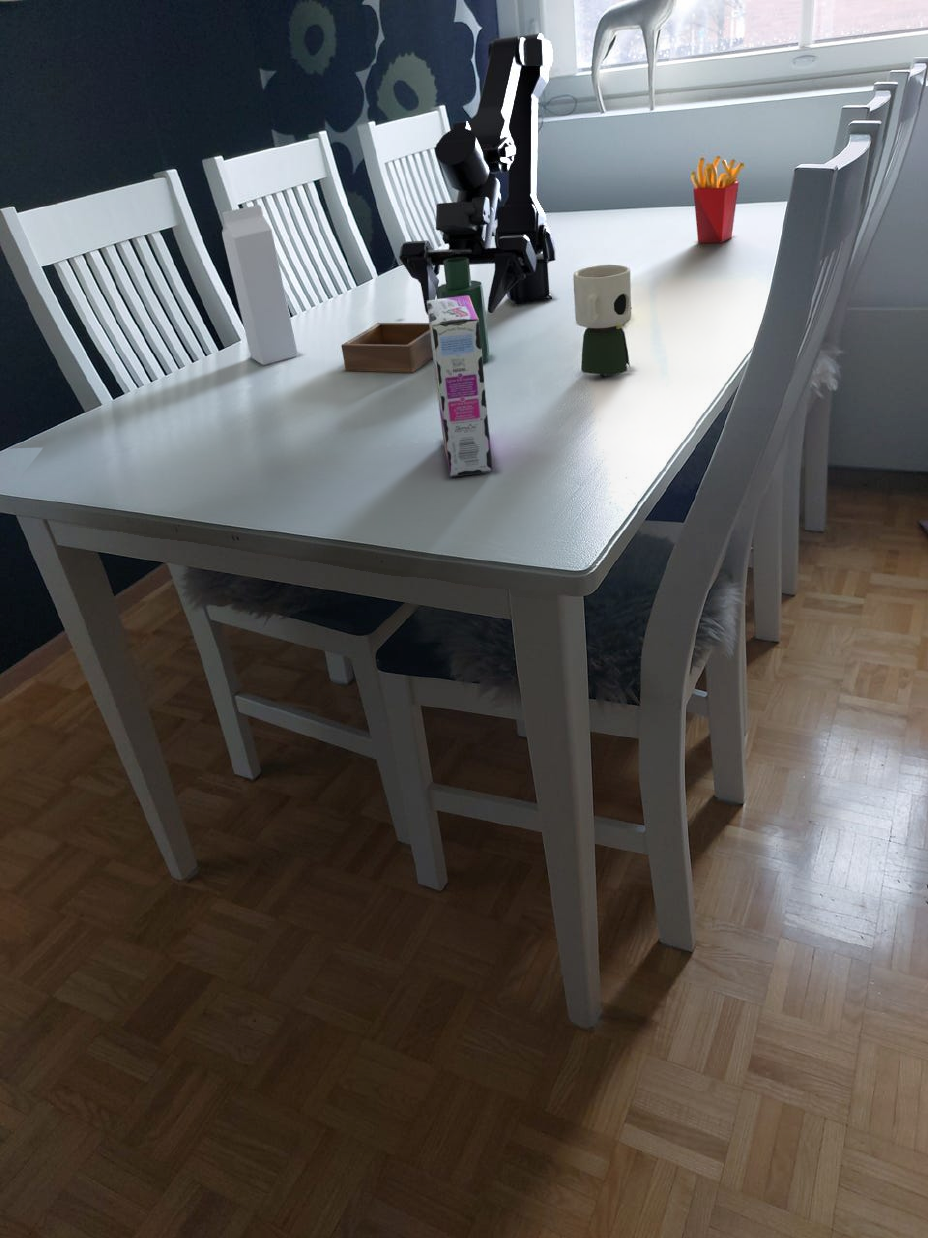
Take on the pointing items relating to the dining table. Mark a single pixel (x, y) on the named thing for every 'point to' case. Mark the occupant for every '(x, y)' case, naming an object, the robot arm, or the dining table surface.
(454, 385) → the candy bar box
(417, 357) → the crate
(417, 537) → the dining table surface
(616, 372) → the character mug
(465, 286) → the bottle
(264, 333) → the milk
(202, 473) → the dining table surface
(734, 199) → the french fries
